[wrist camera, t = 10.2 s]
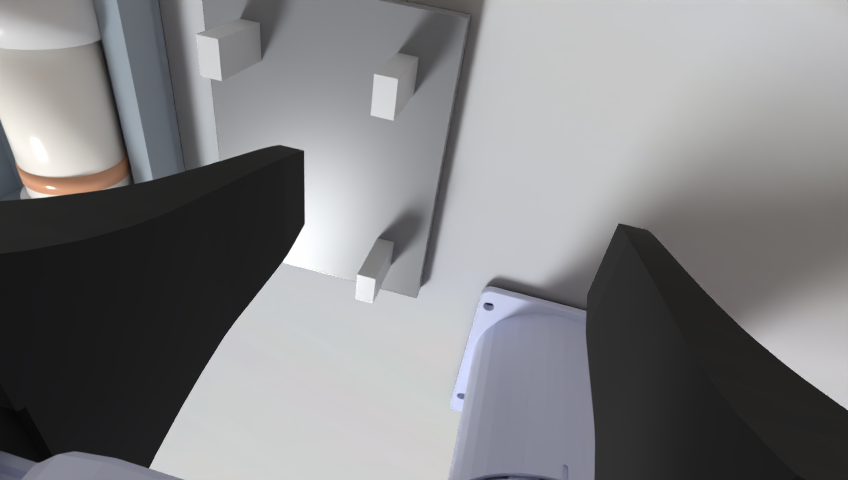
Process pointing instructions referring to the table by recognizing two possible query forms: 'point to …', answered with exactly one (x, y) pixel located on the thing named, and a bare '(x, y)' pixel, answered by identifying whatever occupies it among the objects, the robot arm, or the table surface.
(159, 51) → the tray
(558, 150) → the table surface
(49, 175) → the fuse
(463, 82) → the table surface
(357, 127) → the fuse holder
